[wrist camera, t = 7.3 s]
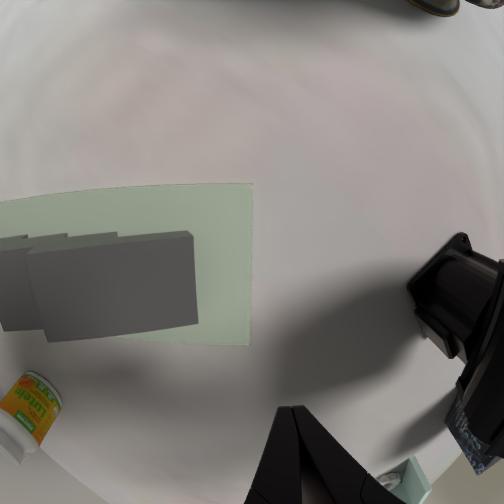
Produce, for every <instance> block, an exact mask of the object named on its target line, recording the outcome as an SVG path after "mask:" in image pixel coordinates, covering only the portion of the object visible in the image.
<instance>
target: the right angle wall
mask: <svg viewBox="0 0 504 504" xmlns="http://www.w3.org/2000/svg"><path fill="white" fill-rule="evenodd" d="M397 474H398V473H390V474H386V475H381V476H380V477H379V478H378V477H377V478H375V479H376V480H377V481H378V482H379V483H380V484H381V485H382V486H383V487H385V488H386V489H387V490H388V491H390V492H391V493H392V494H394V495H395V496H397V497H398V498H399V499H401V500H402V501H404V502H405V503H407V504H422V503H423V501H424V500H425V499H426V497H427V496H428V494H429V493H430V491H431V490H432V489H431V486H430V484H429V482H428V480H427V478H426V476H425V474H424V472H423V470H422V468H421V466H420V464H419V463H418V461H417V459H416V457H415V455H414V456H412V457H410V458H409V461H408V464H407V467H406V470H405V474H404V477H403V480H402V482H400V481H401V479H400V477H398V476H399V475H400V474H398V475H397ZM399 479H400V480H399ZM399 482H400V483H399Z"/></svg>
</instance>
